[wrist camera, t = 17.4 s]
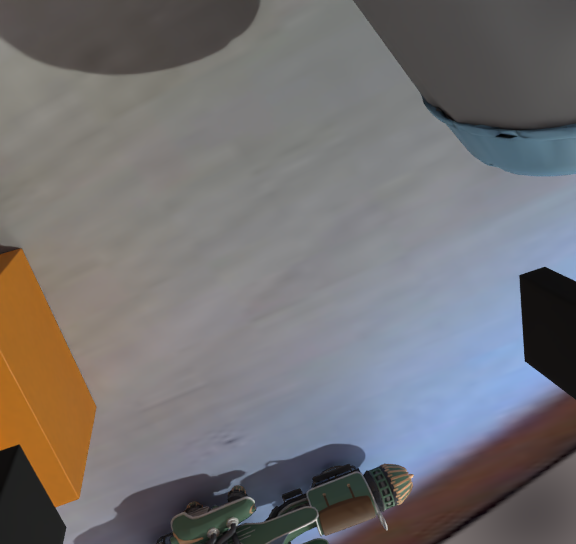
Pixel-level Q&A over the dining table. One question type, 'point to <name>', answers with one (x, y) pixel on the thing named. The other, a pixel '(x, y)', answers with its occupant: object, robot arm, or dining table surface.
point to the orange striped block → (40, 385)
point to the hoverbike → (297, 509)
